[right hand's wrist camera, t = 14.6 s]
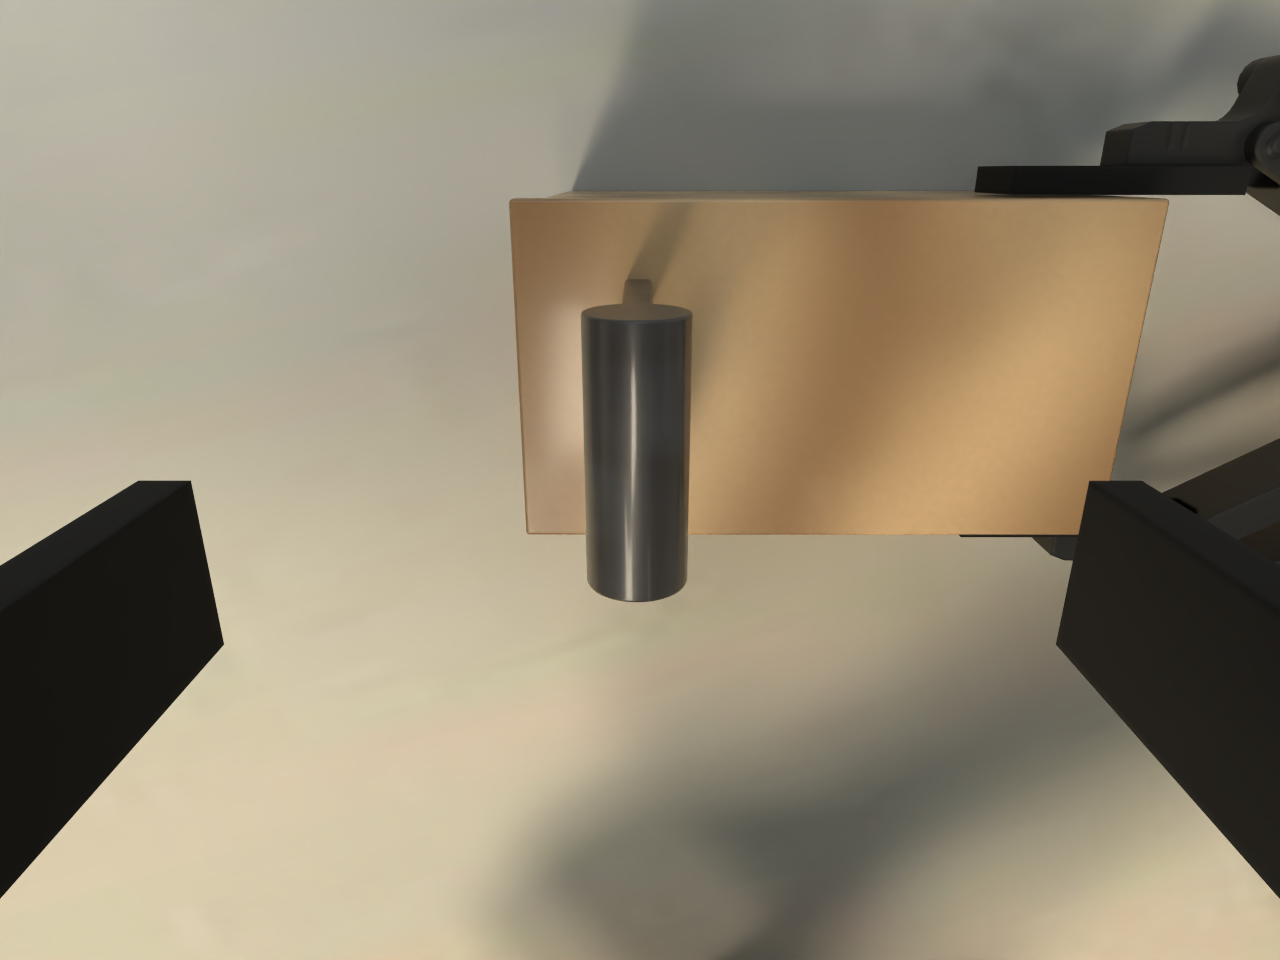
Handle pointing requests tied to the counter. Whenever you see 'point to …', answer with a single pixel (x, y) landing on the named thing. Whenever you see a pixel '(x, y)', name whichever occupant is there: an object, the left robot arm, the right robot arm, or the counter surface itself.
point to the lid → (819, 367)
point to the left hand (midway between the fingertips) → (969, 356)
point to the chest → (806, 194)
